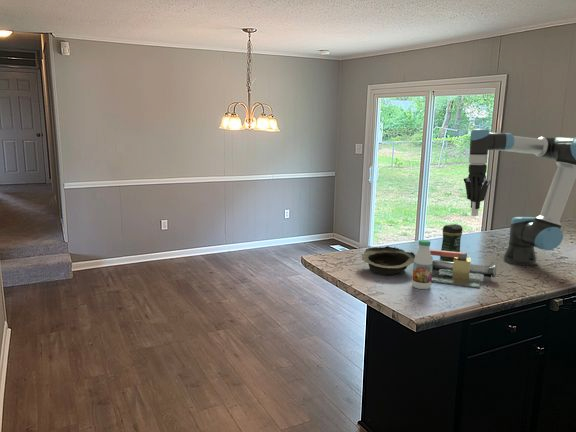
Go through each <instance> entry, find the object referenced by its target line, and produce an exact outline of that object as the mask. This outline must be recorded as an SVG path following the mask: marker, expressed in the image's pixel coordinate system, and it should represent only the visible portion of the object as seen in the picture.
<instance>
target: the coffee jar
mask: <svg viewBox="0 0 576 432" xmlns="http://www.w3.org/2000/svg"><path fill="white" fill-rule="evenodd" d="M462 234H463V226H462V225H461V224H460V225H459V224H456V223H454V224H445V225H444V226H443V228H442V242H441V248H440V249H441V250H442V251H452V252H461V239H462ZM439 259H440V261H448V262H454V257H446V256H439Z"/></svg>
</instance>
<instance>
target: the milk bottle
mask: <svg viewBox="0 0 576 432" xmlns="http://www.w3.org/2000/svg"><path fill="white" fill-rule="evenodd" d="M430 247H431V241H430V240H428V239H420V240H418V250H417V251H416V254H414V255H415V258H414V263H412V264H413V266H412V278H411V279H412V280H411V285H412V287H413V288H415V289H419V290H429V289H431V287H432V282H431V279H432V264H433V260H434V259H433V255H431V253H430Z"/></svg>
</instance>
